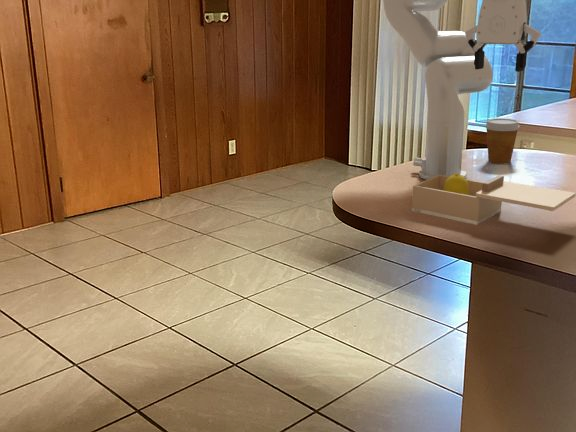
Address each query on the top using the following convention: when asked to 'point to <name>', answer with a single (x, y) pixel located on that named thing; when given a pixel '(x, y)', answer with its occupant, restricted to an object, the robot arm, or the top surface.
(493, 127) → the disposable coffee cup
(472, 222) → the mailer box
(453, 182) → the lemon
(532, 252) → the top surface
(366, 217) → the top surface
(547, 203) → the mailer lid
